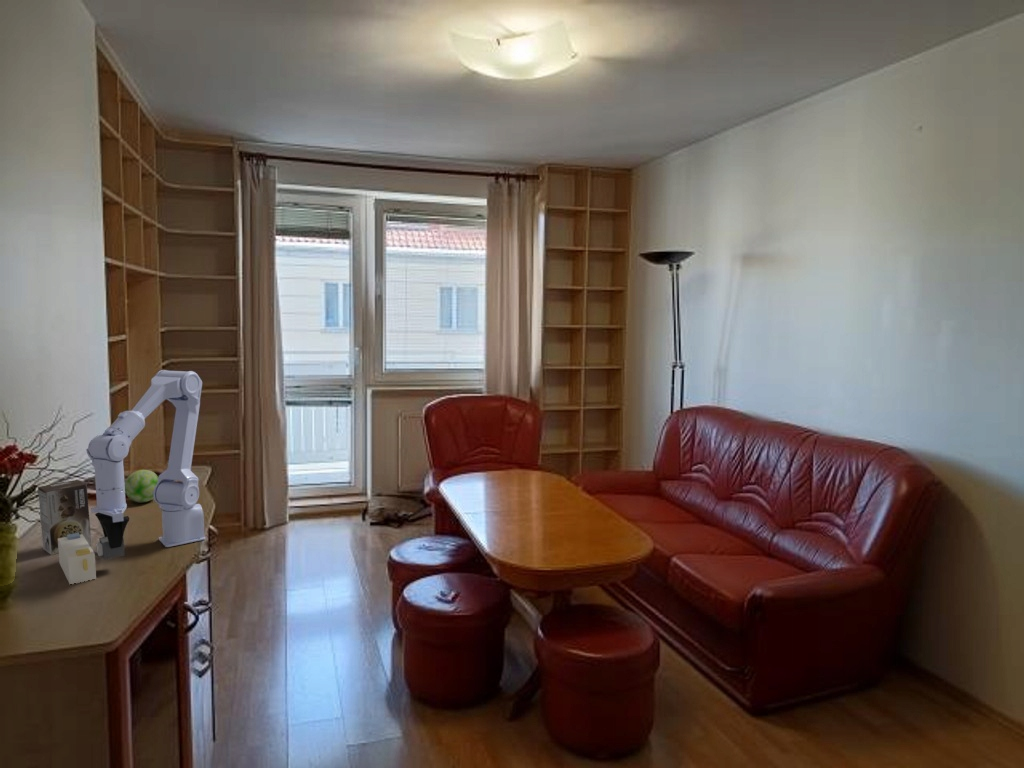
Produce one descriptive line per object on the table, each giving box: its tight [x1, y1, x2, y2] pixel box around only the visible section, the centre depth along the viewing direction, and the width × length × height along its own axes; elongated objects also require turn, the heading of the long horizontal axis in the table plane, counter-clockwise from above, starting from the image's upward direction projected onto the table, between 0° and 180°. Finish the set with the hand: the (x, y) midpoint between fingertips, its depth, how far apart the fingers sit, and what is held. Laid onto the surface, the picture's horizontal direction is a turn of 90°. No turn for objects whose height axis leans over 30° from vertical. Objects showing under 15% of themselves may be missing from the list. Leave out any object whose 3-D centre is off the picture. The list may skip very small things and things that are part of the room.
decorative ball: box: [124, 469, 159, 504], centre depth 212 cm, size 10×10×10 cm
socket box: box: [58, 533, 97, 585], centre depth 158 cm, size 5×19×7 cm, turn 40°
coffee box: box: [37, 479, 93, 556], centre depth 172 cm, size 9×6×16 cm
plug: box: [95, 536, 125, 560], centre depth 159 cm, size 5×4×4 cm
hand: (113, 544), depth 159 cm, fingers closed on plug, 4 cm apart
